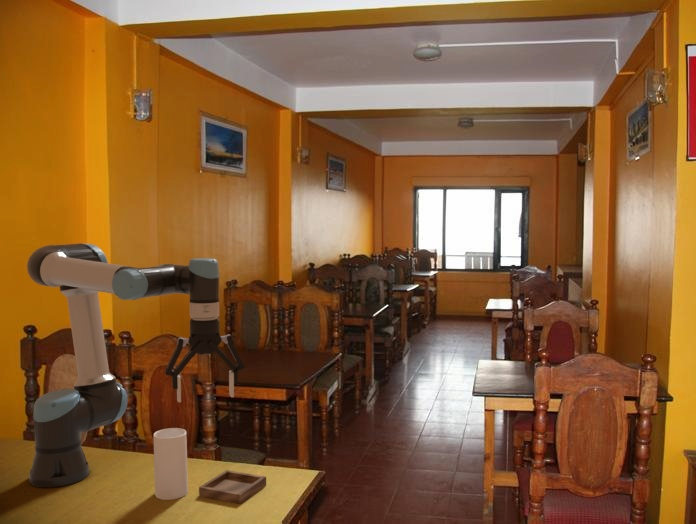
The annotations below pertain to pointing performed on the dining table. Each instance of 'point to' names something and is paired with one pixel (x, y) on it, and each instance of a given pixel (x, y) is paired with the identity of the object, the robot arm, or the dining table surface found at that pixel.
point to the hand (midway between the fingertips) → (205, 398)
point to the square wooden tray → (232, 486)
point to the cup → (170, 463)
